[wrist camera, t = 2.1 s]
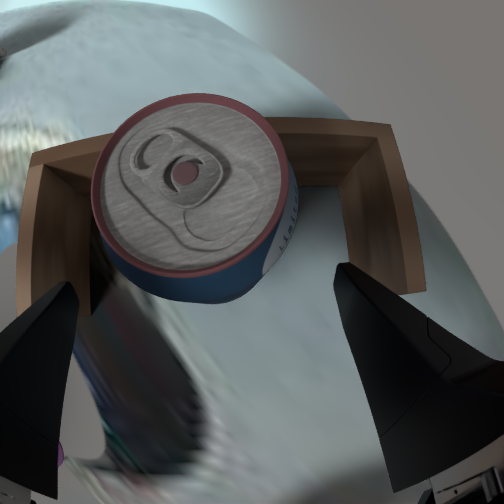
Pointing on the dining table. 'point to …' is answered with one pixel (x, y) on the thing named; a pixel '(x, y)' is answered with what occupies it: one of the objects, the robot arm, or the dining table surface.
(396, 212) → the wooden u-shaped frame
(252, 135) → the soda can
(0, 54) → the disc
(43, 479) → the robot arm
